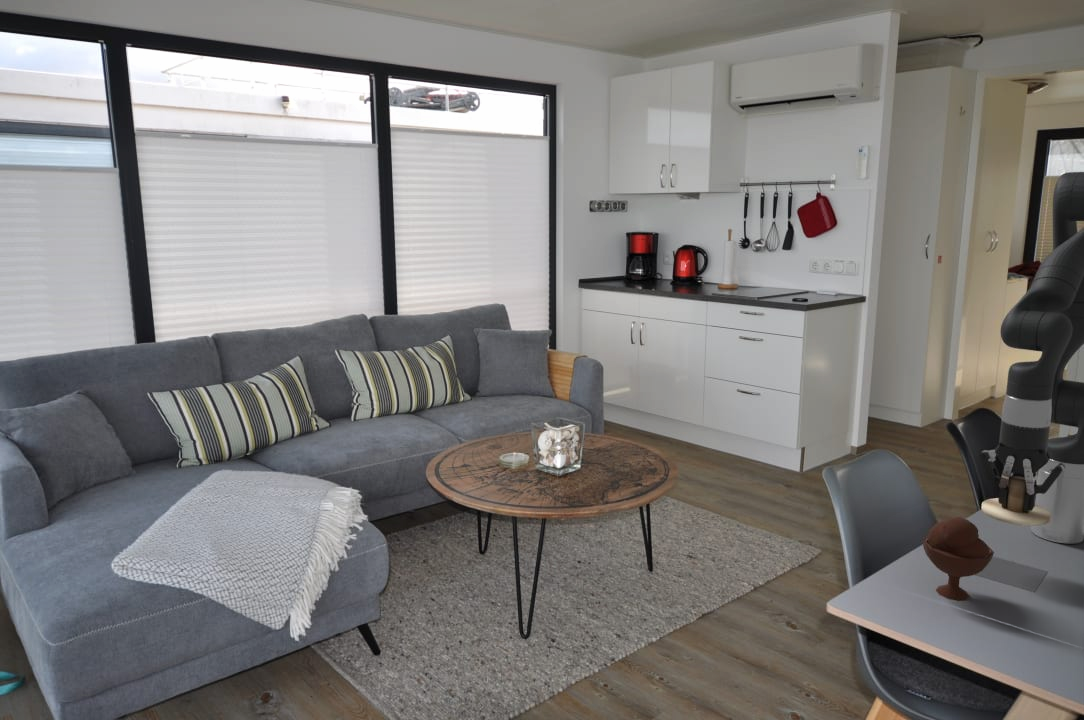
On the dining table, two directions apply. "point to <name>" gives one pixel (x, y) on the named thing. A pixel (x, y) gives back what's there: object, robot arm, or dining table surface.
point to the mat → (1013, 574)
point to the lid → (1016, 507)
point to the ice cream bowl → (956, 553)
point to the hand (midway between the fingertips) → (1015, 508)
